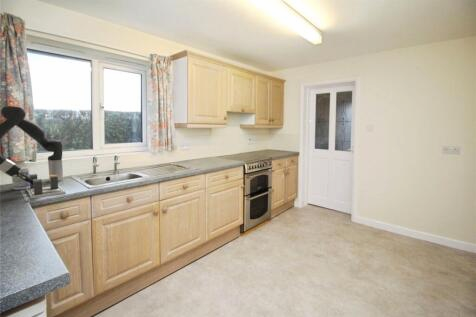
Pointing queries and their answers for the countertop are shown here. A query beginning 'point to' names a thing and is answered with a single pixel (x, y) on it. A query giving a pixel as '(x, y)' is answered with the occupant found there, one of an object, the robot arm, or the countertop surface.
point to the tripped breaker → (53, 181)
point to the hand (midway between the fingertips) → (34, 184)
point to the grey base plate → (42, 188)
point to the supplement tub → (19, 182)
